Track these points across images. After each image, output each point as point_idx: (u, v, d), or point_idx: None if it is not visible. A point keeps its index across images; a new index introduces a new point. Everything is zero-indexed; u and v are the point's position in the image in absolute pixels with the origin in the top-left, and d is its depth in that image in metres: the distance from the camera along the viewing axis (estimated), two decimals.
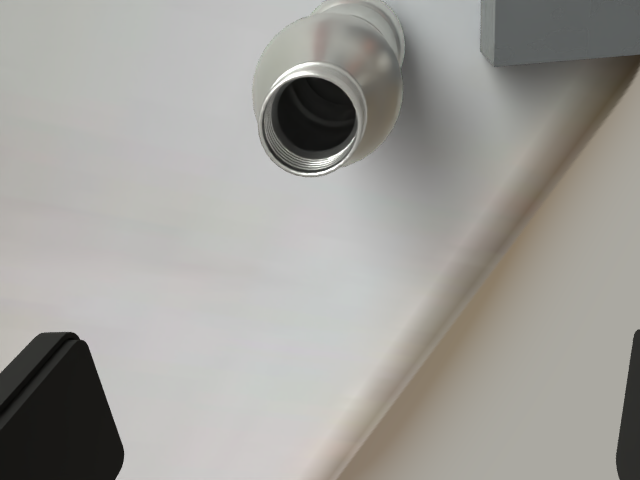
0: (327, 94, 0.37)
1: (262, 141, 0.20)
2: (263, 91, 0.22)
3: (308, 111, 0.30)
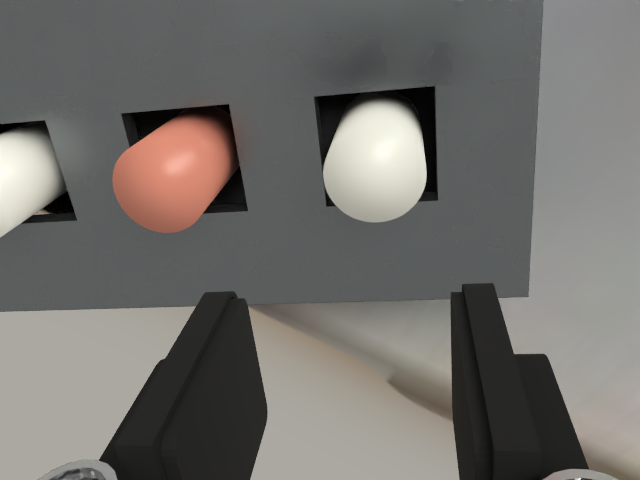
0: None
1: None
2: None
3: None
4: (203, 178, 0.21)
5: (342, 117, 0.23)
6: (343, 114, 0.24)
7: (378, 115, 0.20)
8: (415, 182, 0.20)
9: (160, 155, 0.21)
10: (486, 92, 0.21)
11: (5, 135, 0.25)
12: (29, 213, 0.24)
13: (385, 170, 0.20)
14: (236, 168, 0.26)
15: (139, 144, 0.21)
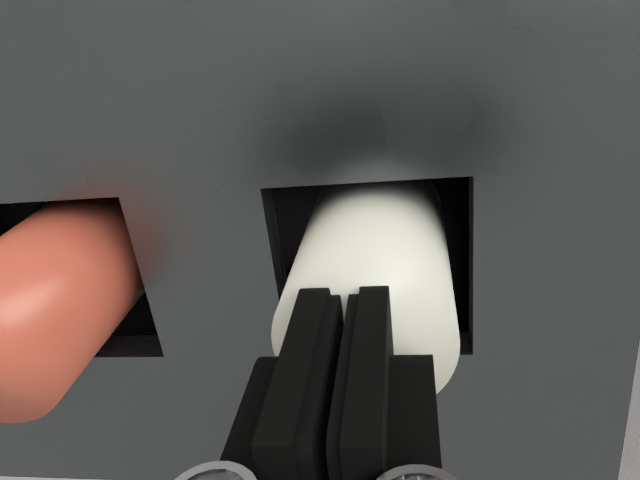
0: None
1: None
2: None
3: None
4: (56, 344, 0.12)
5: (315, 208, 0.14)
6: (318, 200, 0.15)
7: (371, 232, 0.11)
8: (439, 358, 0.11)
9: None
10: (566, 188, 0.12)
11: None
12: None
13: None
14: None
15: None
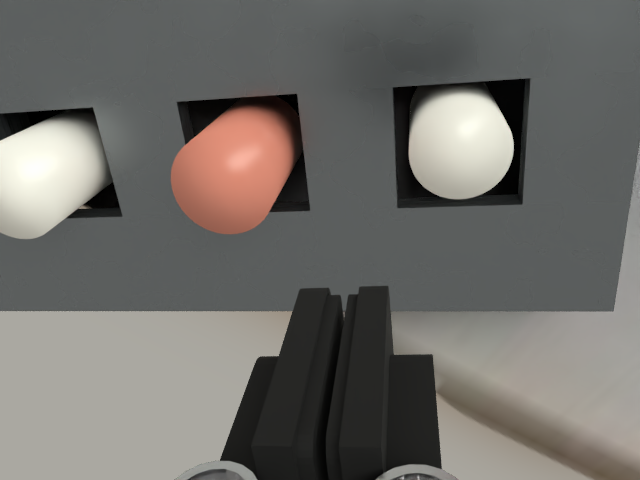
0: None
1: None
2: None
3: None
4: (272, 175, 0.19)
5: (418, 95, 0.24)
6: (418, 93, 0.24)
7: (464, 93, 0.20)
8: (501, 159, 0.20)
9: (226, 149, 0.19)
10: (588, 85, 0.19)
11: (48, 123, 0.23)
12: (74, 208, 0.22)
13: (472, 147, 0.20)
14: (295, 163, 0.24)
15: (203, 136, 0.19)
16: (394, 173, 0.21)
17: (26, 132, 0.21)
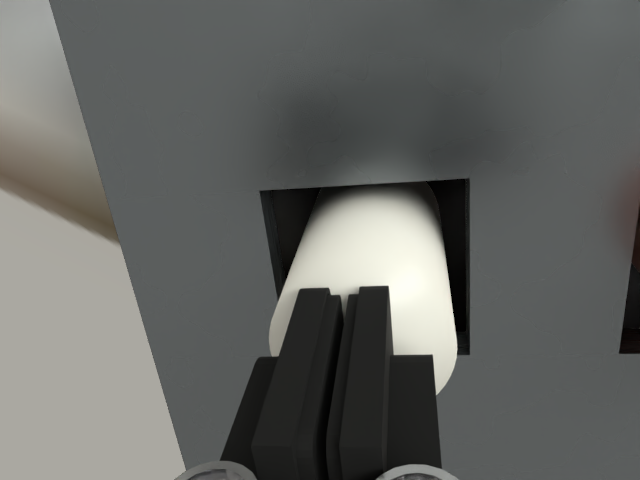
0: None
1: None
2: None
3: None
4: None
5: None
6: None
7: None
8: None
9: None
10: None
11: (372, 200, 0.13)
12: None
13: None
14: None
15: None
16: None
17: (365, 225, 0.12)
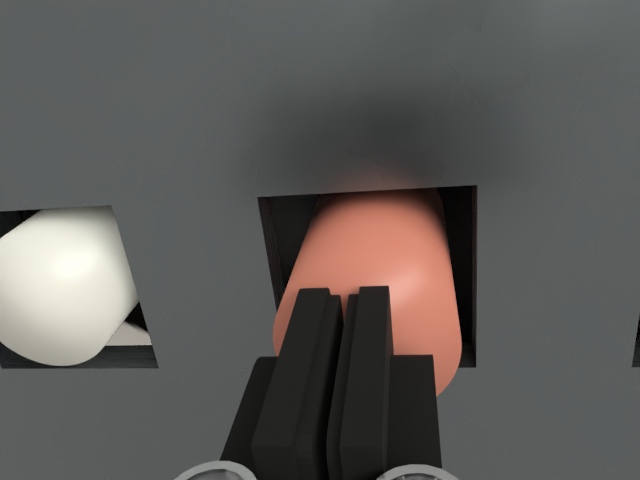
0: None
1: None
2: None
3: None
4: None
5: None
6: None
7: None
8: None
9: None
10: None
11: None
12: (128, 314, 0.15)
13: None
14: None
15: (338, 266, 0.10)
16: (637, 314, 0.12)
17: (59, 209, 0.15)
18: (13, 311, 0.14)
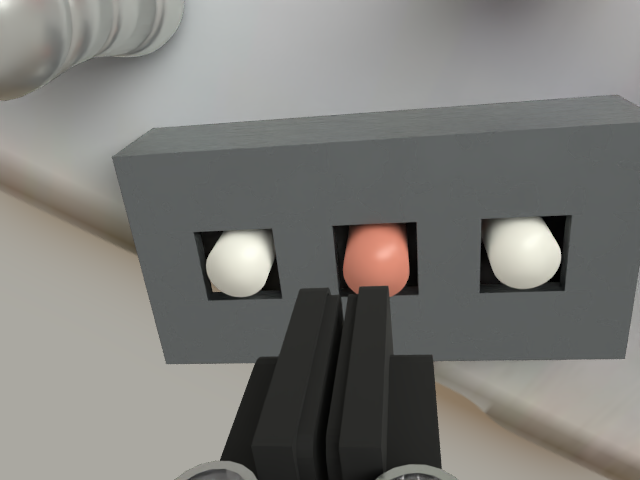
0: None
1: None
2: None
3: None
4: (408, 265, 0.31)
5: None
6: None
7: (526, 220, 0.31)
8: (552, 264, 0.31)
9: (381, 249, 0.31)
10: (608, 219, 0.30)
11: None
12: None
13: (533, 257, 0.31)
14: None
15: (367, 242, 0.30)
16: (479, 271, 0.32)
17: None
18: (224, 272, 0.33)
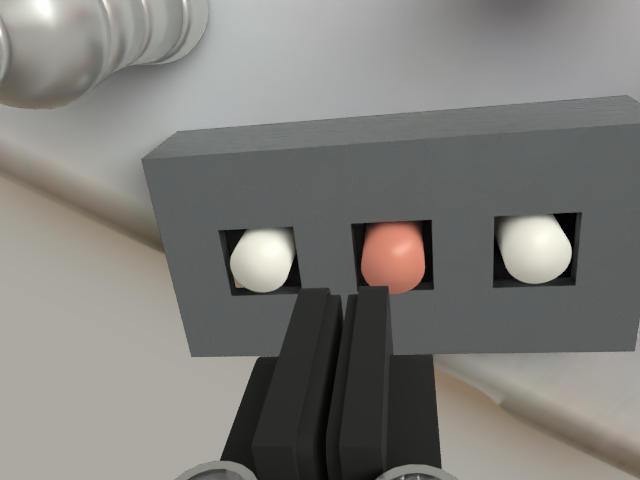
0: None
1: None
2: None
3: None
4: (424, 260, 0.32)
5: None
6: None
7: (538, 217, 0.32)
8: (563, 259, 0.32)
9: (398, 246, 0.32)
10: (618, 216, 0.31)
11: None
12: None
13: (545, 252, 0.32)
14: None
15: (384, 239, 0.32)
16: (492, 266, 0.33)
17: None
18: (247, 269, 0.35)
